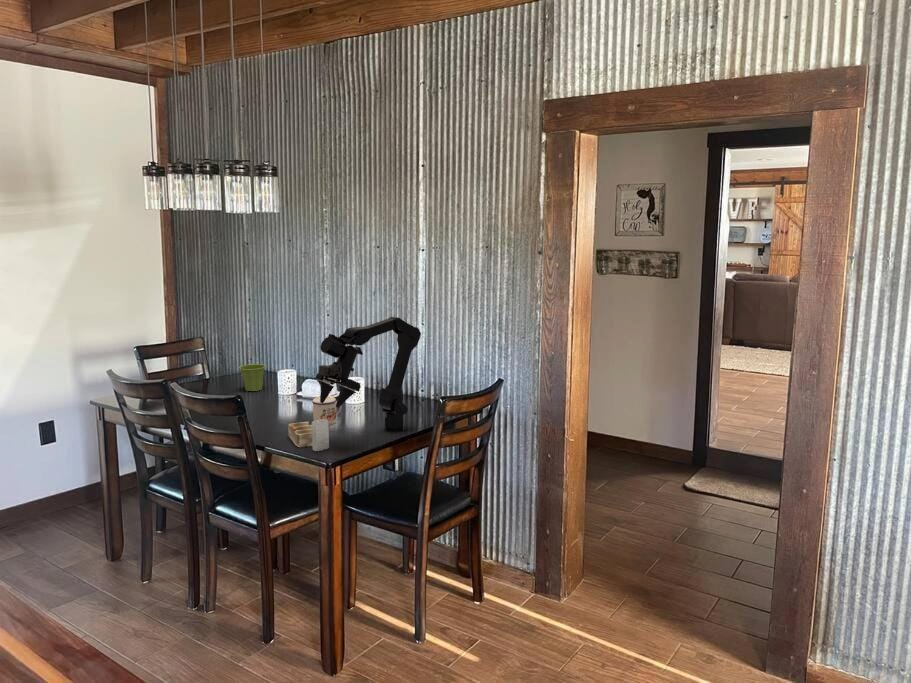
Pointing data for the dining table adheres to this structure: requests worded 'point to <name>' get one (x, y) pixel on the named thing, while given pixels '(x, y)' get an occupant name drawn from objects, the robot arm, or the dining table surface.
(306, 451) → the dining table surface
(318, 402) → the teacup with lid
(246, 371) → the plant pot
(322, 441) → the aluminium panel
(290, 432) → the birch rack
